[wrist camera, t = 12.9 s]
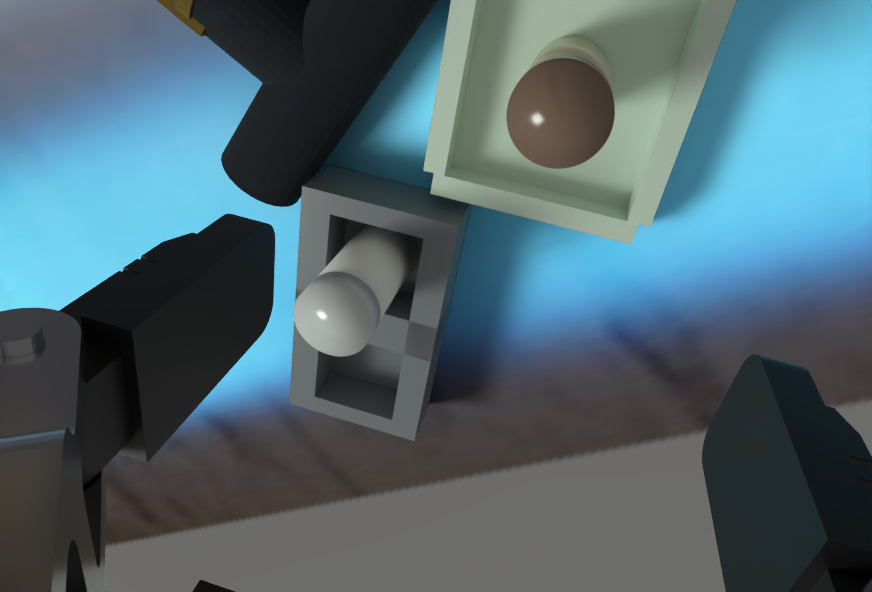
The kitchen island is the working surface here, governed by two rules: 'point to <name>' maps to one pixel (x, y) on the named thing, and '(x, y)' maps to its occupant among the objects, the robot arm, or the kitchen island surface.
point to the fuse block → (407, 313)
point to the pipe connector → (300, 78)
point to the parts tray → (633, 99)
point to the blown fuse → (563, 104)
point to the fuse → (354, 290)
